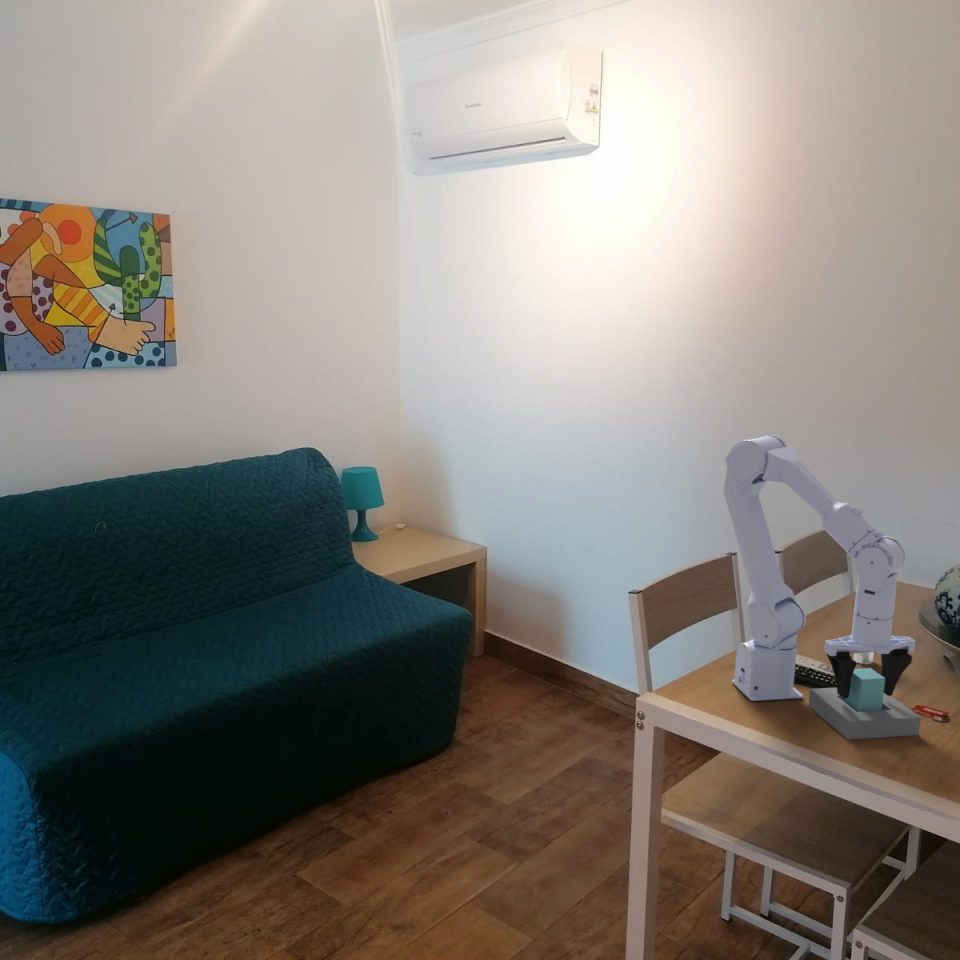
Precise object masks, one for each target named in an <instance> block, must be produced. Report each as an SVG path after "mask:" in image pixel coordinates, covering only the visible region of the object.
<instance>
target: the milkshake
mask: <svg viewBox="0 0 960 960" xmlns="http://www.w3.org/2000/svg"><path fill="white" fill-rule="evenodd" d="M874 655H875V652H869V653H853V661H855V662H856V663H857V664H861V665H870V664H872V663H873V662H874V661H873V660H874Z"/></svg>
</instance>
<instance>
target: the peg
mask: <svg viewBox="0 0 960 960" xmlns="http://www.w3.org/2000/svg"><path fill="white" fill-rule="evenodd" d="M884 685H885V678H884V677H883V676H881V673H878V672H877V671H875V670H874V669H872V668H871V667H867V668H855V669H854V672H853V675H852V678H851V685H850V693H849V697H848V698H845V703H846V704H848V705H849V706H850V707H851V708H853V709H854V710H855V711H856V712H864V711H880V710H882V702H883V693H884Z"/></svg>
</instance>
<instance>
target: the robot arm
mask: <svg viewBox="0 0 960 960" xmlns="http://www.w3.org/2000/svg"><path fill="white" fill-rule="evenodd" d="M730 449H731V450H730V451H729V452H728V454H727V455H726V457H725V459H724V461H725V463H726V467H727V468H726V474H725V479H724V487H723V495H724V498H725V501H726V505H727V508H728V512H729V515H730V519H731V523H732V526H733V529H734V534H735V536H736V540H737V543H738V547H739V550H740V551H739V552H740V554H741V558H742V561H743V564H744V569H745V571H746V575H747V578H748V579H747V580H748V581H749V585H750V589H751V592H750V596H749V598H748V600H747V604H746V608H747V611H748V621H747V630H748V633H749V635H750V637H751V638H752V639H750V640H748V641H744V642H741V643H739V644H738V646H737V649H736V652H735V664H734V677H733V679H732V681H731V682H732V684H734V685H735V687H736V688H738V690H739V691H741V692H742V693H743V694H744V695H745V696H746V697H747V698H748V699H749V700H750V701H752V702H755V701H757V702H758V701H771V700H772V701H774V700H790V699H802V698H804V695H803V693H802V692H800V691H799V690H798V689H797V688H796V687H794V684H795V683H794V682H795V672H796V662H797V661H796V660H797V649H798V633H799V632H801V631H802V629H804V627H805V626H806V625H805V624H806V621H807V620H806V613H805V610H804V608H803V607H802V605H801V604H800V603H799V602H798V600H797V599H796V596H795V593H794V591H793V589H791V587H790V586H788V585H787V584H786V583H785V582H784V580H783V576H782V573H781V569H780V565H779V562H778V559H777V556H776V552H775V548H774V545H773V541H772V537H771V534H770V531H769V528H768V523H767V521H766V517H765V513H764V511H763V510H764V509H763V505H762V503H761V500H760V499H761V498H760V497H759V495H760V493H761V492H762V489H763V488H764V486H765V484H766V483H767V482H769V481H770V482H777V483H783V484H786V486H788V487H789V488H790V490H792V491H793V492H795V494H797V495H798V496H799V497H800V498H801V499H803V501H804V502H805V503H806V504H808V505H809V506H810V507H811V508H812V509H813V510H815V511H816V513H818V515H820V516H821V517H820V518H821V527H822V529H823V530H825V532H826V533H827V534H829V536H830V537H831V538H832V539H833V541H835V542H836V543H837V544H838V545H839V546H840V547H841V548H842V549H843V550H844V551H845V552H846V553H847V554H848V555H849V556H850V557H851V558H852V564H853V568H854V570H855V571H856V573H857V575H858V577H857V583H856V588H855V590H856V591H855V598H854V599H855V601H854V608H853V609H854V610H853V617H852V618H853V619H852V628H851V629H852V630H851V634H850V635H847V636H842V637H838V638H834V639H826V640H825V641H824V650H823V651H824V653H826V657H827V658H828V660H829V663H830V665H831V668H832V671H833V674H834V678H835V679H834V680H835V684H836V687H837V693H838V694H839V695H840V696H841V697H843V698H848V697H849V693H850V685H851V678H852V675H853V672H854V669H856V667H857V665H858V663H857V662H856V661H854V659H852V655H850V654H854V653H869V652H874V653H876V654H878V655H880V657H881V673H880V675H881V676H883V677H884V678H885V685H884V693H885V694H886V695H888V696H892V695H893V693H894V690H895V688H896V687H897V684H898V682H899V680H900V678H901V676H902V674H904V672H905V670H906V669H907V668H908V666H910V665H911V664H912V662H913V656H912V655H911V654H909V653H914V652H915V649H916V640H915V639H913V638H912V637H910V636H909V635H908V636H902V635H899V636H898V635H892V628H893V622H894V621H893V619H894V614H895V613H894V612H895V604H896V596H897V583H898V572H897V571H898V570H900V569H901V568H902V567H903V566H904V563H905V559H906V553H905V550H904V548H903V546H902V545H901V544H900V542H899V541H898V540H897V539H896V538H894V537H892V536H889V535H888V536H886V535H885V533H884V532H883V530H881V529H879V530H878V529H877V528H876V527H875V526H874V525H873V524H872V523H871V522H870V521H869V520H868V519H867V518H866V517H864V515H863V512H864V510H863V509H862V508H861V507H860V506H859V505H856V506H853V505H852V504H851V502H839V501H838V500H837V499H836V498H835V496H833V495H832V493H830V491H829V490H828V489H827V488H826V487H825V485H823V484H822V482H821V481H819V479H818V478H817V477H816V476H815V475H814V473H812V472H811V471H810V469H809V468H808V467H807V466H806V465H805V463H803V462H802V461H801V459H800V457H799V456H798V455H797V453H796V451H795V449H793V448H792V447H791V446H789V445H787V444H786V441H784V440H783V439H782V438H781V437H779V436H777V435H774V434H767V435H763V436H762V437H758V438H752V439H744V440H739V441H738V442H736V443H735V444H734V445H733V447H732V448H730ZM892 697H893V696H892Z"/></svg>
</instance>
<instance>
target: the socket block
mask: <svg viewBox="0 0 960 960" xmlns="http://www.w3.org/2000/svg"><path fill="white" fill-rule="evenodd" d="M808 697H809V698H808V707H810V708H811V710H812V711H814V712H815V713H816V714H818V715H819V716H820V717H821V718H822V719H823V720H824V721H826V722H827V724H829V725H830V726H831V727H833V728H834V730H836V731H837V732H838V733H840V735H842V736H843V737H844V738H845V739H847V740H862V739H879V738H891V737H892V738H893V737H908V736H909V737H910V736H919V733H920V725H921V716H920V715H919V714H917V713H916V712H914V711H912V710H911V709H910V708H909V707H907V706H906V705H904V704H903V703H902V702H900V701H899V700H898V699H896V698H894V697H893V696H888V695H886V694H885V693H883V702H882V710H880V711H864V712H856V711H855V710H854V709H853V708H851V707H850V706H849V705H848V704H846V703H845V698H843V697H841V696H840V695H839V694H838V693H837V686H836V687H822V688H819V687H818V688H810V689H809V696H808Z"/></svg>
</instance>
